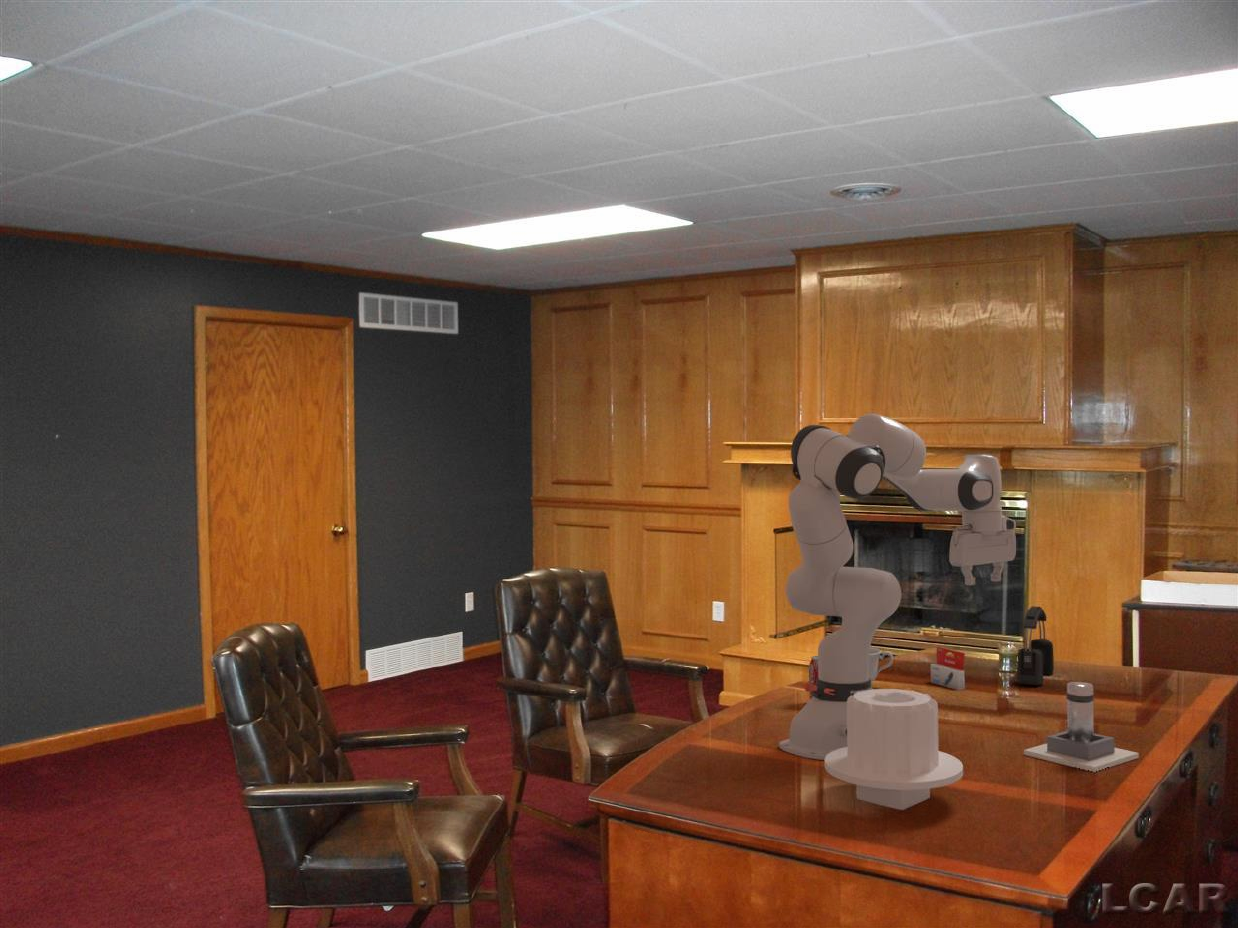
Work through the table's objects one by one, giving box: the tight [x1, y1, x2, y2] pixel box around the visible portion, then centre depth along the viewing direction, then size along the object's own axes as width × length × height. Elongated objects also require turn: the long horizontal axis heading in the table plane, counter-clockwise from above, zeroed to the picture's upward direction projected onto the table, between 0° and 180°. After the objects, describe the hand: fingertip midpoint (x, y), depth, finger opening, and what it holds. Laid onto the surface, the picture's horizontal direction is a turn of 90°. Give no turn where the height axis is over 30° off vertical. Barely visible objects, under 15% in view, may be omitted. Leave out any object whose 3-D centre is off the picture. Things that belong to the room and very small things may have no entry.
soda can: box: [808, 655, 818, 701], centre depth 279 cm, size 7×7×12 cm
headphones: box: [1016, 606, 1055, 686], centre depth 304 cm, size 22×6×20 cm, turn 148°
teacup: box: [869, 646, 894, 683], centre depth 298 cm, size 12×15×10 cm
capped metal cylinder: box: [1065, 681, 1095, 744], centre depth 230 cm, size 5×5×14 cm
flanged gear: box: [824, 688, 964, 811], centre depth 205 cm, size 25×25×19 cm
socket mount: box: [1023, 730, 1140, 773], centre depth 230 cm, size 16×16×4 cm
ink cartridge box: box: [930, 646, 966, 691], centre depth 298 cm, size 2×11×10 cm, turn 25°
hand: (983, 583), depth 256 cm, fingers open, 8 cm apart
